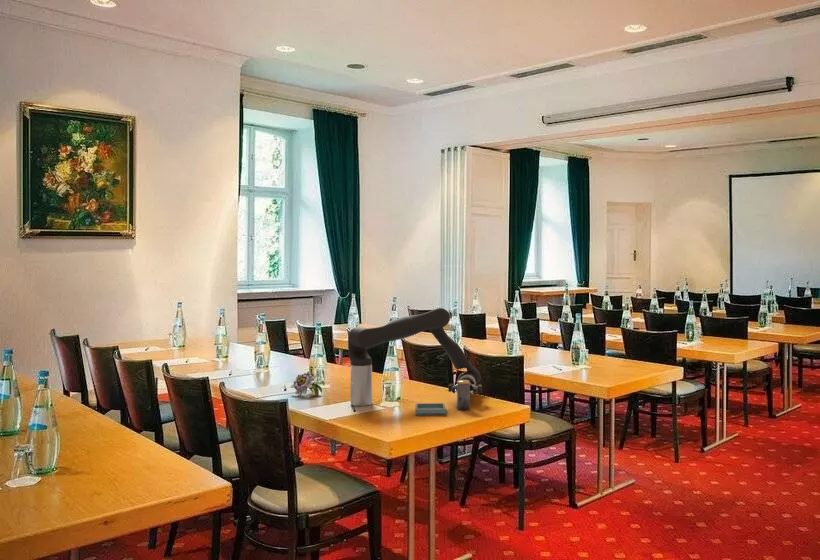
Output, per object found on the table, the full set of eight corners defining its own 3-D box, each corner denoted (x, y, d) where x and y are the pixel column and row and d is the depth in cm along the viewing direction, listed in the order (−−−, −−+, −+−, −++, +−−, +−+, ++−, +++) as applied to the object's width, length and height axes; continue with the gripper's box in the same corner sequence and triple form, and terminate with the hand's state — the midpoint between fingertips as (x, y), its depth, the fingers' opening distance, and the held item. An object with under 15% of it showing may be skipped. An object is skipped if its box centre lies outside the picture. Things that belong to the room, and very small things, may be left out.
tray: (416, 415, 290) (416, 409, 290) (415, 409, 302) (415, 403, 302) (446, 415, 290) (446, 409, 290) (444, 409, 302) (444, 403, 302)
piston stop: (457, 410, 298) (457, 381, 298) (456, 408, 304) (456, 379, 303) (470, 410, 298) (470, 381, 298) (469, 408, 304) (468, 379, 303)
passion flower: (300, 409, 332) (283, 385, 333) (315, 399, 342) (299, 376, 344) (316, 396, 325) (299, 372, 327) (332, 387, 336) (315, 363, 337)
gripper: (450, 375, 321) (447, 381, 305) (482, 376, 319) (480, 382, 303) (450, 392, 322) (447, 399, 306) (482, 393, 319) (480, 400, 303)
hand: (463, 391), depth 304 cm, fingers open, 8 cm apart
